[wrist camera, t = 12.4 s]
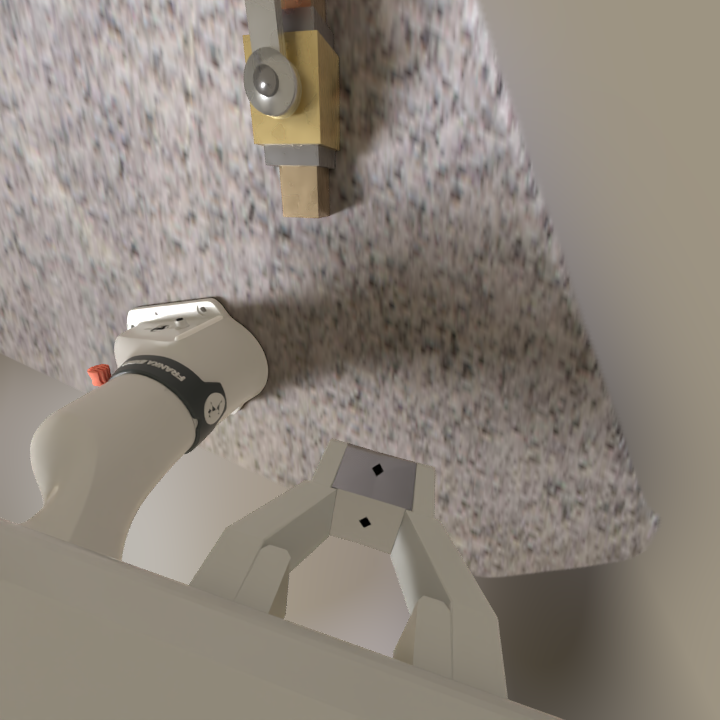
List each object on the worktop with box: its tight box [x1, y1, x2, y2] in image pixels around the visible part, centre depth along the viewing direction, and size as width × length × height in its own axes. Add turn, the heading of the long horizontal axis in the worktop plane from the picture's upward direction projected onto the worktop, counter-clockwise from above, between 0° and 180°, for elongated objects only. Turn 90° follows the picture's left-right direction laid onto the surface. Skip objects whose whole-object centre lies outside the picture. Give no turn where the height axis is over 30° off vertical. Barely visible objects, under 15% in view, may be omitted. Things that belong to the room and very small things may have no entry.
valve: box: [243, 0, 340, 218], centre depth 29 cm, size 19×6×7 cm, turn 179°
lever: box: [244, 0, 302, 119], centre depth 23 cm, size 12×4×2 cm, turn 2°
